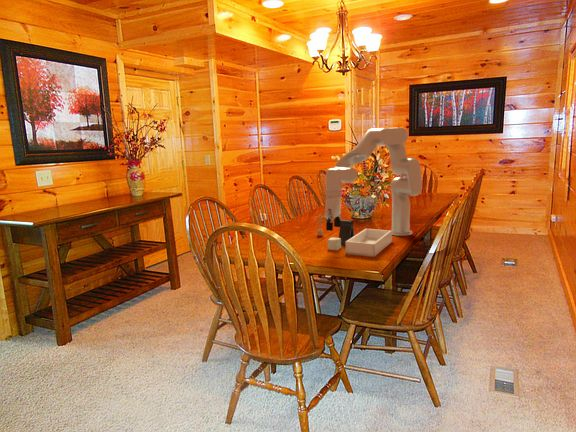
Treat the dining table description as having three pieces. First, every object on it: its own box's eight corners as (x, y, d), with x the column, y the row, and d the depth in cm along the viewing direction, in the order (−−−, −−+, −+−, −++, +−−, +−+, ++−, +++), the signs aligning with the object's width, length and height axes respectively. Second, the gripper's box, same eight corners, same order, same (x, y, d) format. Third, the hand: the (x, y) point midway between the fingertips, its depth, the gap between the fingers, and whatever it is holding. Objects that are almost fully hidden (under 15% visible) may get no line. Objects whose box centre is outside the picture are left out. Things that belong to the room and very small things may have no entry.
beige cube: (331, 247, 217) (331, 237, 216) (341, 247, 214) (341, 238, 213) (327, 249, 212) (327, 239, 211) (337, 250, 210) (337, 240, 209)
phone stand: (344, 240, 229) (344, 218, 227) (355, 241, 226) (355, 219, 224) (337, 244, 222) (337, 221, 219) (348, 245, 218) (348, 222, 216)
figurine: (312, 236, 240) (311, 215, 238) (314, 234, 245) (313, 213, 243) (326, 236, 238) (326, 215, 236) (328, 234, 243) (328, 213, 241)
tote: (365, 239, 229) (365, 228, 228) (391, 241, 222) (391, 230, 221) (345, 253, 203) (345, 241, 202) (374, 257, 197) (374, 244, 195)
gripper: (333, 191, 217) (333, 224, 220) (319, 195, 202) (319, 231, 205) (347, 192, 214) (346, 226, 217) (334, 196, 199) (333, 232, 202)
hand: (333, 228), depth 211 cm, fingers open, 9 cm apart
